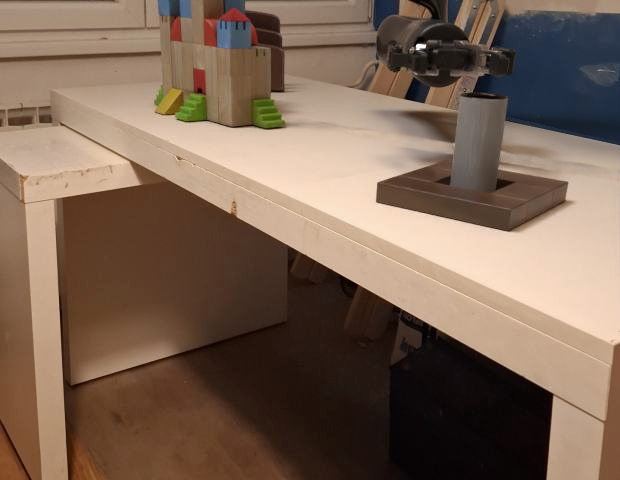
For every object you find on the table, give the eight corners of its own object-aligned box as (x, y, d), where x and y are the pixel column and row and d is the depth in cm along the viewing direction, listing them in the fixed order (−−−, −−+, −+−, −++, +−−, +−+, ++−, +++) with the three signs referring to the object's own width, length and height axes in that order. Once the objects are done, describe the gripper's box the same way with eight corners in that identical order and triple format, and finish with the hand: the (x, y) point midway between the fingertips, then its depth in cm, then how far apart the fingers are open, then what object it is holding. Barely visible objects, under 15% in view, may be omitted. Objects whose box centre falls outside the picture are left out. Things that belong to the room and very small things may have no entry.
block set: (303, 125, 113) (307, -17, 105) (222, 133, 105) (219, -20, 97) (207, 100, 133) (204, -21, 125) (133, 105, 125) (124, -24, 117)
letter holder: (181, 84, 151) (177, 7, 145) (279, 85, 154) (280, 10, 148) (180, 91, 142) (176, 9, 136) (284, 92, 145) (285, 12, 139)
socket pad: (443, 177, 86) (445, 159, 85) (565, 200, 78) (568, 181, 77) (375, 201, 75) (376, 182, 75) (508, 231, 68) (511, 209, 67)
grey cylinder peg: (439, 199, 77) (450, 94, 72) (465, 192, 80) (477, 90, 75) (476, 209, 74) (491, 100, 69) (502, 201, 77) (517, 96, 72)
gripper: (380, 18, 94) (400, 25, 79) (493, 21, 94) (533, 29, 80) (376, 82, 97) (394, 100, 82) (485, 84, 98) (523, 103, 83)
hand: (463, 65), depth 81 cm, fingers open, 8 cm apart
